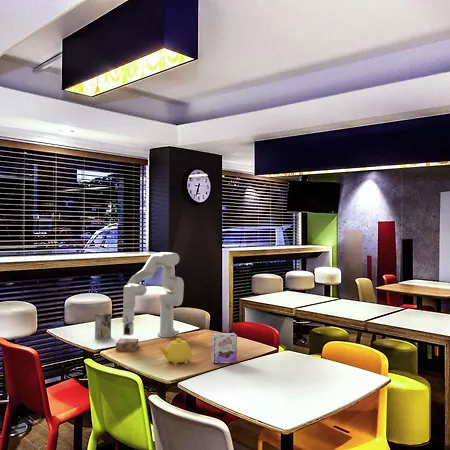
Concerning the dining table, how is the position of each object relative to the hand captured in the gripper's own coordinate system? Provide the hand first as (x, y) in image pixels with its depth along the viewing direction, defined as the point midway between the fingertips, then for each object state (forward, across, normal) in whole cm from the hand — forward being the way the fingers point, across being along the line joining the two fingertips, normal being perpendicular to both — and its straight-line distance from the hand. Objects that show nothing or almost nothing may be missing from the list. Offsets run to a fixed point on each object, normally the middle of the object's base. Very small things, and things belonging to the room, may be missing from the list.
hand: (128, 332), depth 292 cm
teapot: (+10, +25, +36) cm, 45 cm away
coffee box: (+10, -23, -26) cm, 36 cm away
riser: (+10, 0, 0) cm, 10 cm away
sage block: (+1, 0, 0) cm, 1 cm away
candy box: (+10, +19, +64) cm, 68 cm away
